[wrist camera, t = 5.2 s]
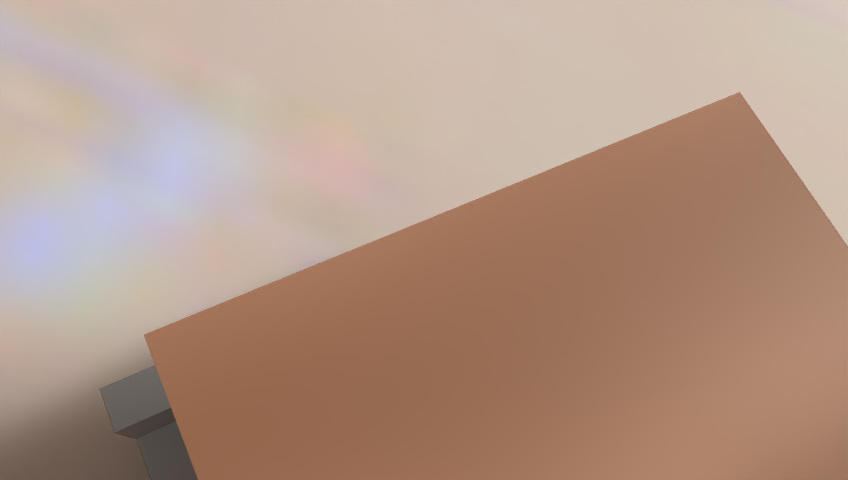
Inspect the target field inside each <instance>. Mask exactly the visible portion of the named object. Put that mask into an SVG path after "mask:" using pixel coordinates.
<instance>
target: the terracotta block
mask: <svg viewBox="0 0 848 480" xmlns="http://www.w3.org/2000/svg"><path fill="white" fill-rule="evenodd" d="M144 336H145V339H146V342H147V344H148V347H149V350H150V352H151V355H152V358H153V360H154V363H155V366H156V368H157V371H158V374H159V376H160V379H161V382H162V384H163V387H164V390H165V393H166V395H167V398H168V401H169V403H170V406H171V409H172V411H173V414H174V417H175V419H176V422H177V425H178V427H179V430H180V433H181V435H182V438H183V441H184V443H185V446H186V449H187V451H188V454H189V457H190V459H191V462H192V465H193V467H194V470H195V473H196V475H197V478H198V480H848V246H847V245H846V243H845V242H844V240H843V239H842V237H841V236H840V235H839V233H838V232H837V230H836V229H835V227H834V226H833V225H832V223H831V222H830V220H829V219H828V217H827V216H826V215H825V213H824V212H823V210H822V209H821V207H820V206H819V205H818V203H817V202H816V200H815V199H814V197H813V196H812V195H811V193H810V192H809V190H808V189H807V187H806V186H805V185H804V183H803V182H802V180H801V179H800V177H799V176H798V175H797V173H796V172H795V170H794V169H793V167H792V166H791V165H790V163H789V162H788V160H787V159H786V157H785V156H784V155H783V153H782V152H781V150H780V149H779V147H778V146H777V145H776V143H775V142H774V140H773V139H772V137H771V136H770V135H769V133H768V132H767V130H766V129H765V127H764V126H763V125H762V123H761V122H760V120H759V119H758V118H757V116H756V115H755V113H754V112H753V110H752V109H751V108H750V106H749V105H748V103H747V102H746V100H745V99H744V98H743V96H742V95H741V93H740V92H739V93H736V94H734V95H731V96H729V97H727V98H724V99H722V100H719V101H717V102H714V103H712V104H709V105H707V106H704V107H702V108H700V109H697V110H695V111H692V112H690V113H687V114H685V115H682V116H680V117H677V118H675V119H673V120H670V121H668V122H665V123H663V124H660V125H658V126H655V127H653V128H650V129H648V130H646V131H643V132H641V133H638V134H636V135H633V136H631V137H628V138H626V139H623V140H621V141H619V142H616V143H614V144H611V145H609V146H606V147H604V148H601V149H599V150H596V151H594V152H592V153H589V154H587V155H584V156H582V157H579V158H577V159H574V160H572V161H569V162H567V163H565V164H562V165H560V166H557V167H555V168H552V169H550V170H547V171H545V172H542V173H540V174H538V175H535V176H533V177H530V178H528V179H525V180H523V181H520V182H518V183H515V184H513V185H511V186H508V187H506V188H503V189H501V190H498V191H496V192H493V193H491V194H488V195H486V196H484V197H481V198H479V199H476V200H474V201H471V202H469V203H466V204H464V205H461V206H459V207H457V208H454V209H452V210H449V211H447V212H444V213H442V214H439V215H437V216H434V217H432V218H430V219H427V220H425V221H422V222H420V223H417V224H415V225H412V226H410V227H407V228H405V229H403V230H400V231H398V232H395V233H393V234H390V235H388V236H385V237H383V238H380V239H378V240H376V241H373V242H371V243H368V244H366V245H363V246H361V247H358V248H356V249H353V250H351V251H349V252H346V253H344V254H341V255H339V256H336V257H334V258H331V259H329V260H326V261H324V262H322V263H319V264H317V265H314V266H312V267H309V268H307V269H304V270H302V271H299V272H297V273H295V274H292V275H290V276H287V277H285V278H282V279H280V280H277V281H275V282H273V283H270V284H268V285H265V286H263V287H260V288H258V289H255V290H253V291H250V292H248V293H245V294H243V295H241V296H238V297H236V298H233V299H231V300H228V301H226V302H223V303H221V304H219V305H216V306H214V307H211V308H209V309H206V310H204V311H201V312H199V313H196V314H194V315H192V316H189V317H187V318H184V319H182V320H179V321H177V322H174V323H172V324H169V325H167V326H165V327H162V328H160V329H157V330H155V331H152V332H150V333H147V334H145V335H144Z"/></svg>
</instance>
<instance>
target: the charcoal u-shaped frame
mask: <svg viewBox="0 0 848 480" xmlns="http://www.w3.org/2000/svg"><path fill="white" fill-rule="evenodd" d="M100 392H101V395H102V398H103V400H104V403H105V406H106V409H107V412H108V415H109V418H110V421H111V423H112V426H113V429H114V432H115V433H118V434H122V435H125V436H129V437H132V438H136V439H137V442H138V445H139V448H140V451H141V454H142V456H143V459H144V462H145V465H146V468H147V470H148V473H149V476H150V479H151V480H198V478H197V475H196V473H195V470H194V467H193V465H192V462H191V459H190V457H189V454H188V451H187V449H186V446H185V443H184V441H183V438H182V435H181V433H180V430H179V427H178V425H177V422H176V419H175V417H174V414H173V411H172V409H171V406H170V403H169V401H168V398H167V395H166V393H165V390H164V387H163V384H162V382H161V379H160V376H159V374H158V371H157V368H156V366H153V367H150V368H148V369H146V370H143V371H141V372H139V373H136V374H134V375H132V376H129V377H127V378H124V379H122V380H120V381H117V382H115V383H113V384H110V385H108V386H105V387H103V388H101V389H100Z"/></svg>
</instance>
